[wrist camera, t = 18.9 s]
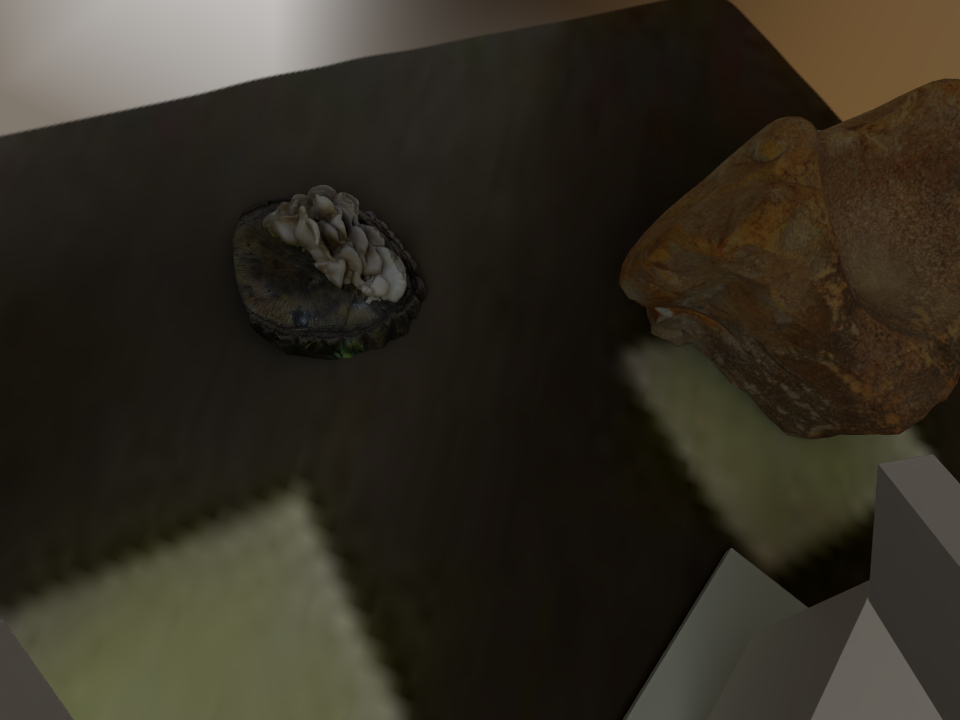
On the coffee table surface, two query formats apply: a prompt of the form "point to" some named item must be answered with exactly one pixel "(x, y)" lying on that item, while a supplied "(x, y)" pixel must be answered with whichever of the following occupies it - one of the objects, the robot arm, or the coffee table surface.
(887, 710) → the white box
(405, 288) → the log
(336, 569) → the coffee table surface
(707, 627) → the mat
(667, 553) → the coffee table surface
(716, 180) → the rough brown rock
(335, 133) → the coffee table surface
